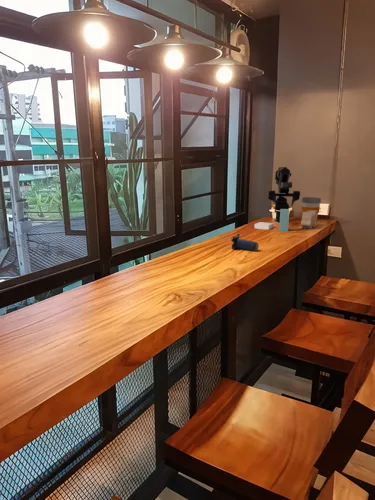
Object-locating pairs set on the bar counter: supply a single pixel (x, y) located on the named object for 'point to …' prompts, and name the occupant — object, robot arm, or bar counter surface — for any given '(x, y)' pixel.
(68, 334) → the bar counter surface
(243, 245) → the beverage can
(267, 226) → the base brick
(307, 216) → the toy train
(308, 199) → the reusable coffee cup
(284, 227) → the teal column
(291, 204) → the robot arm
